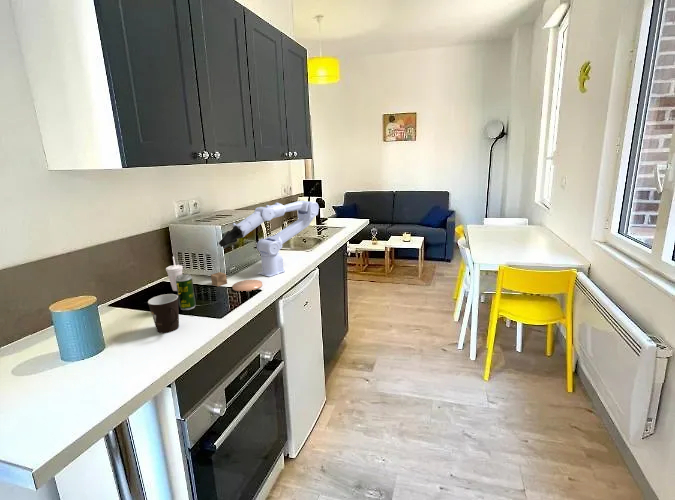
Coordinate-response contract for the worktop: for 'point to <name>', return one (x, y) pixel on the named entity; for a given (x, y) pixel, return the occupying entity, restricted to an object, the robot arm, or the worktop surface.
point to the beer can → (185, 292)
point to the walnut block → (218, 279)
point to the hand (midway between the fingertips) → (222, 243)
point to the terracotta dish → (247, 285)
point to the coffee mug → (165, 312)
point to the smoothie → (174, 274)
